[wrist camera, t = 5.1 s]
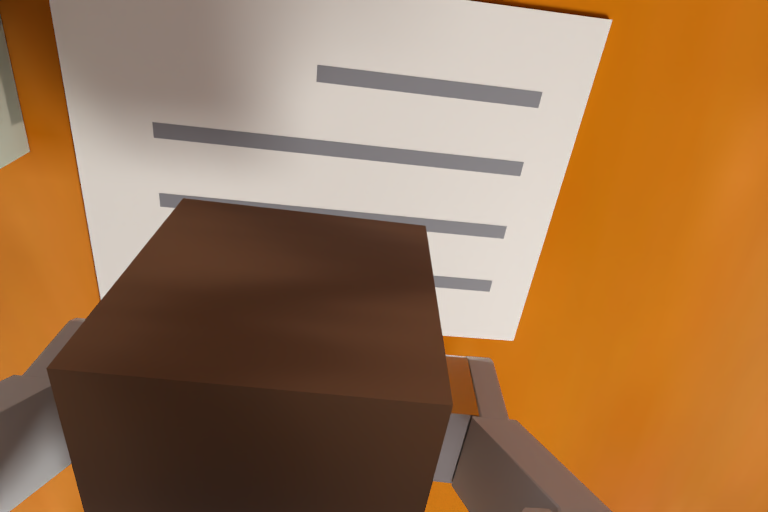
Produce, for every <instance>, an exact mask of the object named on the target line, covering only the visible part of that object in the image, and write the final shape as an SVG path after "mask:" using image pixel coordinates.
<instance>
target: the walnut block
mask: <svg viewBox="0 0 768 512" xmlns="http://www.w3.org/2000/svg"><path fill="white" fill-rule="evenodd" d="M46 369H47V373H48V377H49V380H50V384H51V388H52V392H53V395H54V399H55V403H56V407H57V411H58V414H59V418H60V422H61V426H62V429H63V433H64V437H65V441H66V444H67V448H68V452H69V456H70V459H71V463H72V467H73V471H74V474H75V478H76V482H77V486H78V490H79V493H80V497H81V501H82V505H83V508H84V512H424V511H425V508H426V504H427V500H428V497H429V493H430V489H431V485H432V482H433V478H434V474H435V471H436V467H437V463H438V460H439V456H440V452H441V448H442V445H443V441H444V437H445V434H446V430H447V426H448V423H449V419H450V415H451V412H452V408H453V401H452V395H451V388H450V382H449V375H448V368H447V362H446V355H445V349H444V342H443V336H442V329H441V323H440V316H439V309H438V303H437V296H436V290H435V283H434V277H433V270H432V263H431V257H430V250H429V244H428V237H427V231H426V226H424V225H415V224H406V223H398V222H389V221H380V220H371V219H362V218H354V217H345V216H336V215H327V214H318V213H310V212H301V211H292V210H283V209H274V208H265V207H257V206H248V205H239V204H230V203H221V202H213V201H204V200H195V199H186V198H183V199H182V200H181V201H180V203H179V204H178V205H177V206H176V208H175V209H174V210H173V211H172V213H171V214H170V215H169V216H168V218H167V219H166V220H165V221H164V222H163V224H162V225H161V226H160V227H159V229H158V230H157V231H156V232H155V234H154V235H153V236H152V237H151V239H150V240H149V241H148V242H147V244H146V245H145V246H144V247H143V249H142V250H141V251H140V252H139V254H138V255H137V256H136V257H135V259H134V260H133V261H132V262H131V264H130V265H129V266H128V267H127V269H126V270H125V271H124V272H123V273H122V275H121V276H120V277H119V278H118V280H117V281H116V282H115V283H114V285H113V286H112V287H111V288H110V290H109V291H108V292H107V293H106V295H105V296H104V297H103V298H102V300H101V301H100V302H99V303H98V305H97V306H96V307H95V308H94V310H93V311H92V312H91V313H90V315H89V316H88V317H87V318H86V320H85V321H84V322H83V323H82V324H81V326H80V327H79V328H78V329H77V331H76V332H75V333H74V334H73V336H72V337H71V338H70V339H69V341H68V342H67V343H66V344H65V346H64V347H63V348H62V349H61V351H60V352H59V353H58V354H57V356H56V357H55V358H54V359H53V361H52V362H51V363H50V364H49V366H48V367H47V368H46Z"/></svg>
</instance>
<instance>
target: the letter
mask: <svg viewBox="0 0 768 512" xmlns="http://www.w3.org/2000/svg"><path fill="white" fill-rule="evenodd" d="M49 3H50V8H51V14H52V20H53V26H54V32H55V37H56V43H57V49H58V55H59V60H60V66H61V72H62V78H63V84H64V89H65V95H66V101H67V107H68V113H69V118H70V124H71V130H72V136H73V142H74V147H75V153H76V159H77V165H78V171H79V176H80V182H81V188H82V194H83V199H84V205H85V211H86V217H87V223H88V228H89V234H90V240H91V246H92V252H93V257H94V263H95V269H96V275H97V281H98V286H99V292H100V298H101V300H102V298H103V297H104V296H105V295H106V293H107V292H108V291H109V290H110V288H111V287H112V286H113V285H114V283H115V282H116V281H117V280H118V278H119V277H120V276H121V275H122V273H123V272H124V271H125V270H126V269H127V267H128V266H129V265H130V264H131V262H132V261H133V260H134V259H135V257H136V256H137V255H138V254H139V252H140V251H141V250H142V249H143V247H144V246H145V245H146V244H147V242H148V241H149V240H150V239H151V237H152V236H153V235H154V234H155V232H156V231H157V230H158V229H159V227H160V226H161V225H162V224H163V222H164V221H165V220H166V219H167V218H168V216H169V215H170V214H171V213H172V211H173V210H174V209H175V208H176V206H177V205H178V204H179V203H180V201H181V200H182V199H183V198H186V199H195V200H204V201H213V202H221V203H230V204H239V205H248V206H257V207H265V208H274V209H283V210H292V211H301V212H310V213H318V214H327V215H336V216H345V217H354V218H362V219H371V220H380V221H389V222H398V223H406V224H415V225H424V226H426V231H427V237H428V244H429V250H430V257H431V263H432V270H433V277H434V283H435V290H436V296H437V303H438V309H439V316H440V323H441V329H442V335H443V336H457V337H470V338H483V339H497V340H510V341H513V340H514V337H515V333H516V330H517V327H518V324H519V320H520V317H521V314H522V311H523V307H524V304H525V301H526V298H527V295H528V291H529V288H530V285H531V282H532V278H533V275H534V272H535V269H536V265H537V262H538V259H539V256H540V252H541V249H542V246H543V243H544V240H545V236H546V233H547V230H548V227H549V223H550V220H551V217H552V214H553V210H554V207H555V204H556V201H557V197H558V194H559V191H560V188H561V185H562V181H563V178H564V175H565V172H566V168H567V165H568V162H569V159H570V155H571V152H572V149H573V146H574V142H575V139H576V136H577V133H578V130H579V126H580V123H581V120H582V117H583V113H584V110H585V107H586V104H587V100H588V97H589V94H590V91H591V87H592V84H593V81H594V78H595V75H596V71H597V68H598V65H599V62H600V58H601V55H602V52H603V49H604V45H605V42H606V39H607V36H608V32H609V29H610V26H611V23H612V20H610V19H602V18H595V17H588V16H580V15H573V14H566V13H558V12H551V11H544V10H536V9H529V8H522V7H514V6H507V5H500V4H492V3H485V2H478V1H470V0H49Z"/></svg>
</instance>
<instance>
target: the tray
mask: <svg viewBox="0 0 768 512" xmlns="http://www.w3.org/2000/svg"><path fill="white" fill-rule="evenodd" d="M28 152H30V150H29V145H28V140H27V136H26V131H25V127H24V122H23V117H22V113H21V108H20V103H19V99H18V94H17V90H16V85H15V80H14V76H13V71H12V67H11V62H10V57H9V53H8V48H7V44H6V39H5V34H4V30H3V25H2V20H1V16H0V169H1V168H2V167H4V166H6V165H7V164H9V163H11V162H13V161H14V160H16V159H18V158H19V157H21V156H23V155H25V154H26V153H28Z"/></svg>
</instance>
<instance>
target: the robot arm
mask: <svg viewBox="0 0 768 512" xmlns="http://www.w3.org/2000/svg"><path fill="white" fill-rule="evenodd" d="M85 320H86V319H82V318H75V319H73V320H70V321H69V322H68V323H67V324H66V325H65V326H64V327H63V329H62V330H61V331H60V332H59V333H58V334H57V336H56V337H55V338H54V339H53V340H52V341H51V343H50V344H49V345H48V346H47V347H46V348H45V350H44V351H43V352H42V353H41V354H40V355H39V357H38V358H37V359H36V360H35V361H34V363H33V364H32V365H31V366H30V367H29V368H28V370H27V371H26V372H25V373H24V374H23V375H22V376H19V375H13V376H11V377H8V378H6V379H4V380H2V381H0V512H10V511H11V510H12V509H13V508H15V507H16V506H17V505H19V504H20V503H21V502H22V501H24V500H25V499H26V498H28V497H29V496H30V495H31V494H33V493H34V492H35V491H36V490H38V489H39V488H40V487H42V486H43V485H44V484H45V483H47V482H48V481H49V480H51V479H52V478H53V477H54V476H56V475H57V474H58V473H60V472H61V471H62V470H63V469H65V468H66V467H67V466H69V465H70V464H71V459H70V456H69V452H68V448H67V444H66V441H65V437H64V433H63V429H62V426H61V422H60V418H59V414H58V411H57V407H56V403H55V399H54V395H53V392H52V388H51V384H50V380H49V377H48V373H47V369H46V368H47V367H48V366H49V364H50V363H51V362H52V361H53V359H54V358H55V357H56V356H57V354H58V353H59V352H60V351H61V349H62V348H63V347H64V346H65V344H66V343H67V342H68V341H69V339H70V338H71V337H72V336H73V334H74V333H75V332H76V331H77V329H78V328H79V327H80V326H81V324H82V323H83V322H84V321H85ZM446 362H447V368H448V375H449V382H450V388H451V395H452V401H453V408H452V412H451V415H450V419H449V423H448V426H447V430H446V434H445V437H444V441H443V445H442V448H441V452H440V456H439V460H438V463H437V467H436V471H435V474H434V478H433V481H437V482H446V483H452V487H453V488H454V490H455V491H456V493H457V494H458V496H459V497H460V498H461V500H462V501H463V503H464V504H465V506H466V507H467V509H468V510H469V512H612V511H611V510H610V509H609V508H608V507H607V506H606V505H605V504H603V503H602V502H601V501H600V500H599V499H598V498H597V497H596V496H595V495H594V494H593V493H592V492H591V491H590V490H589V489H588V488H587V487H586V486H585V485H584V484H583V483H581V482H580V481H579V480H578V479H577V478H576V477H575V476H574V475H573V474H572V473H571V472H570V471H569V470H568V469H567V468H566V467H565V466H564V465H563V464H562V463H561V462H560V461H558V460H557V459H556V458H555V457H554V456H553V455H552V454H551V453H550V452H549V451H548V450H547V449H546V448H545V447H544V446H543V445H542V444H541V443H540V442H539V441H538V440H536V439H535V438H534V437H533V436H532V435H531V434H530V433H529V432H528V431H527V430H526V429H525V428H524V427H523V426H522V425H521V424H520V423H519V422H518V421H517V420H509V418H508V414H507V410H506V407H505V403H504V400H503V396H502V392H501V389H500V385H499V381H498V378H497V374H496V370H495V367H494V363H493V361H492V360H491V359H490V358H483V357H469V356H466V357H463V356H452V355H446Z"/></svg>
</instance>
